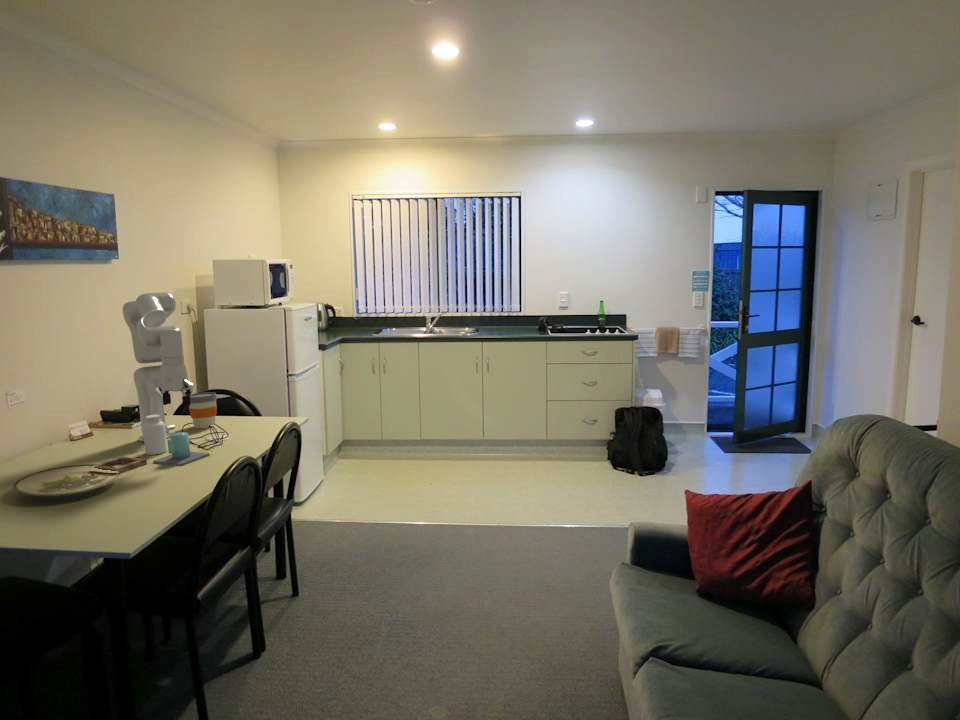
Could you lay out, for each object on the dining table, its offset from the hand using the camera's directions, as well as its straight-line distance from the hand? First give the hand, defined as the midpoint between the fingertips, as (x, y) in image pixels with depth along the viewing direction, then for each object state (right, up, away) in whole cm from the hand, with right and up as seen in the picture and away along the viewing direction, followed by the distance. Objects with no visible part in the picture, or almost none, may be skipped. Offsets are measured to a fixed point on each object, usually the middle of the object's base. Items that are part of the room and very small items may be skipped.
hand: (177, 405), depth 247 cm
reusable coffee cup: (-13, -14, +55) cm, 58 cm away
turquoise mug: (+1, -20, 0) cm, 20 cm away
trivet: (+1, -21, +1) cm, 21 cm away
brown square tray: (-18, -23, -7) cm, 30 cm away
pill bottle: (-14, -20, +12) cm, 27 cm away
